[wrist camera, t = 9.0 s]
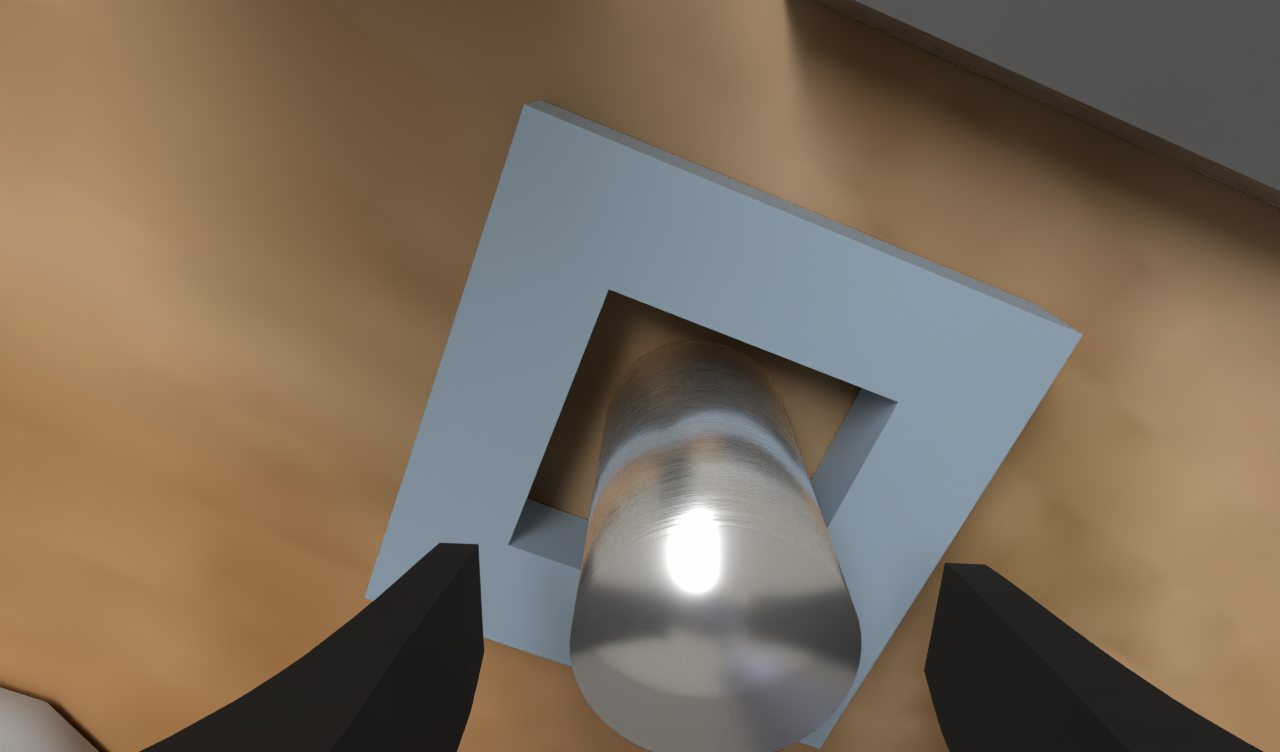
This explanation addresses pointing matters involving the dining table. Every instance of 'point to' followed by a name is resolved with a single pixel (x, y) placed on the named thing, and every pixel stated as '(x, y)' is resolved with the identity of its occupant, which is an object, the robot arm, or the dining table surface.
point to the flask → (36, 727)
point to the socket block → (1123, 69)
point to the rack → (735, 306)
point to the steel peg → (708, 565)
